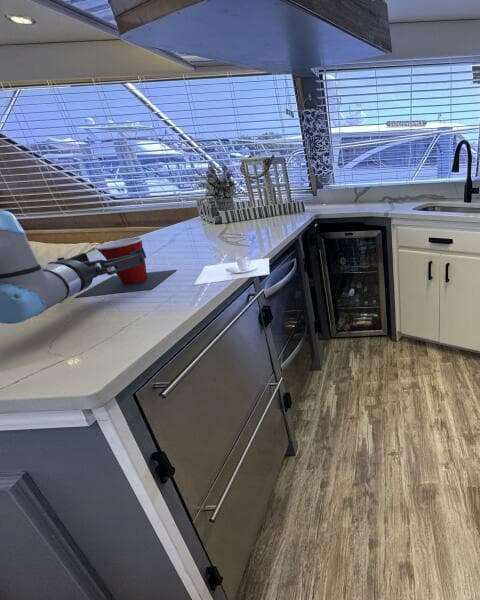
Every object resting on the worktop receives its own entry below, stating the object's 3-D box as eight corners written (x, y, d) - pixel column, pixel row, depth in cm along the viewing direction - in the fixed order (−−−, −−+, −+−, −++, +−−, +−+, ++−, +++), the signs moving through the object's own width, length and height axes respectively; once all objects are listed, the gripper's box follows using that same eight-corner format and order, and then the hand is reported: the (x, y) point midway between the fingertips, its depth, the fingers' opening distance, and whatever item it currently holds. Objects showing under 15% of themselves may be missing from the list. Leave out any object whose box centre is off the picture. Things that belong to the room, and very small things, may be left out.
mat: (74, 297, 84) (73, 297, 84) (113, 276, 100) (112, 275, 100) (151, 289, 87) (151, 288, 87) (177, 270, 103) (177, 269, 103)
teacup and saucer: (225, 276, 95) (222, 263, 94) (228, 268, 102) (225, 256, 101) (257, 271, 98) (254, 258, 97) (257, 265, 105) (255, 252, 103)
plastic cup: (114, 280, 95) (97, 240, 91) (158, 273, 101) (144, 235, 96) (107, 291, 87) (88, 247, 82) (155, 282, 92) (140, 241, 87)
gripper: (-1, 303, 68) (67, 273, 87) (133, 288, 74) (170, 263, 92) (-20, 269, 65) (54, 246, 84) (121, 257, 71) (161, 237, 90)
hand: (115, 255), depth 88 cm, fingers open, 13 cm apart
